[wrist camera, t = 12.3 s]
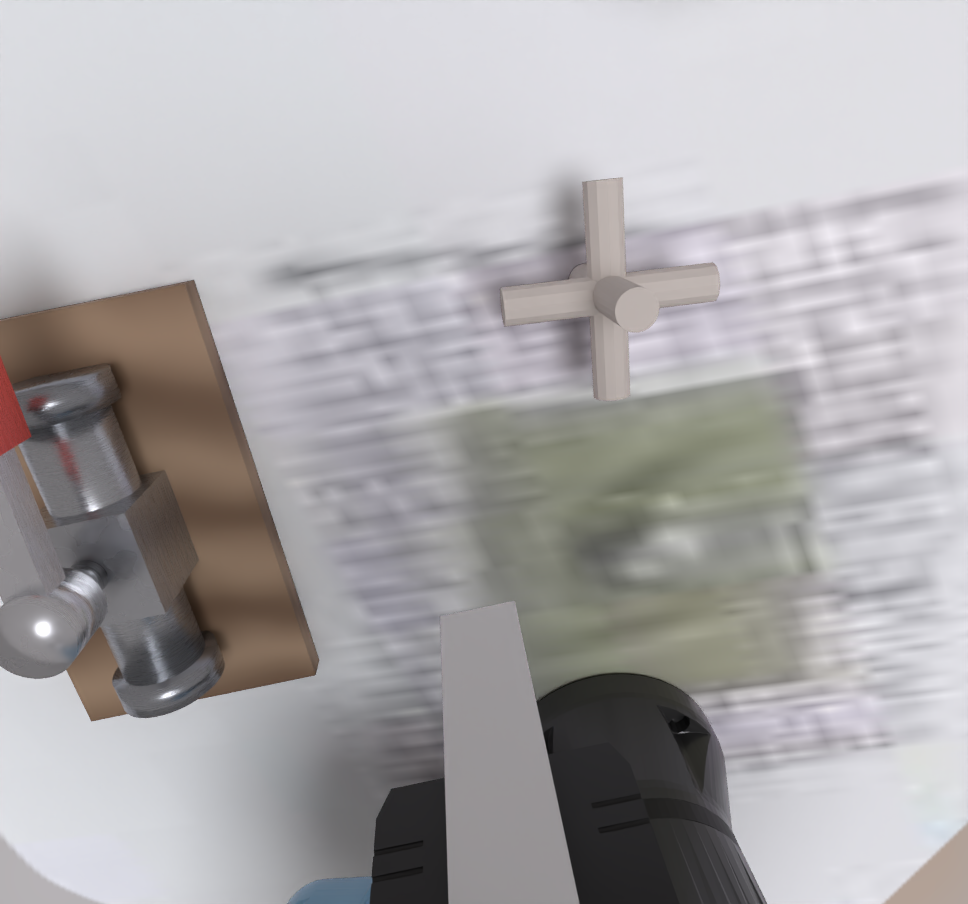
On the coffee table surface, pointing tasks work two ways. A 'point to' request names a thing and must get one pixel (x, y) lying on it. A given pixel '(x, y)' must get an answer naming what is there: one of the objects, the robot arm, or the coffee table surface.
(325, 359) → the coffee table surface
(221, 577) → the walnut board
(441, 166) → the coffee table surface
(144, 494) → the valve body
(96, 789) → the coffee table surface
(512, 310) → the pipe connector
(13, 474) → the valve handle
